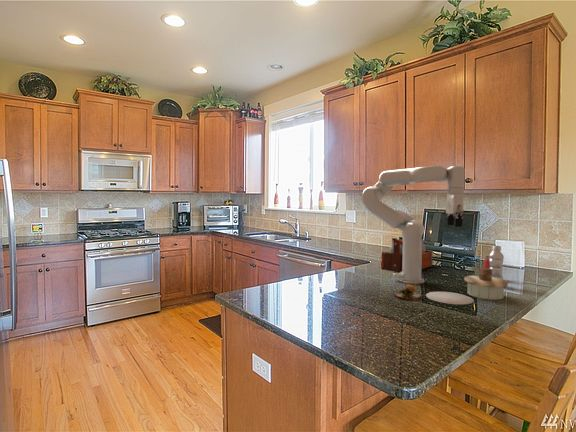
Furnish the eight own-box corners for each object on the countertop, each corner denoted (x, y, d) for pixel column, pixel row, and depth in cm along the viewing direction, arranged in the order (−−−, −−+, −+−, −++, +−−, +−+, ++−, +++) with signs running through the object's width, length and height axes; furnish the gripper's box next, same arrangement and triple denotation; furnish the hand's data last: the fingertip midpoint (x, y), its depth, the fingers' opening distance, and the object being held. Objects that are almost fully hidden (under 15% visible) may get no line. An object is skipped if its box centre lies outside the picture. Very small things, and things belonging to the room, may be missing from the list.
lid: (474, 286, 147) (475, 272, 147) (458, 277, 164) (458, 264, 164) (516, 287, 146) (516, 273, 146) (494, 278, 163) (495, 265, 163)
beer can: (496, 278, 189) (497, 256, 189) (498, 280, 183) (499, 258, 183) (483, 276, 192) (483, 255, 191) (484, 279, 186) (484, 257, 185)
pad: (434, 304, 142) (434, 303, 142) (420, 291, 161) (420, 291, 161) (482, 305, 141) (482, 304, 141) (462, 292, 159) (462, 292, 159)
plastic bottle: (498, 287, 169) (499, 247, 168) (484, 284, 175) (486, 245, 174) (505, 286, 172) (507, 246, 171) (492, 283, 178) (493, 244, 177)
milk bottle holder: (434, 265, 223) (435, 236, 222) (411, 274, 198) (412, 241, 197) (403, 261, 238) (404, 234, 237) (378, 269, 212) (379, 238, 211)
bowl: (476, 299, 149) (476, 286, 149) (462, 290, 163) (462, 278, 163) (509, 300, 148) (510, 286, 147) (493, 291, 162) (493, 279, 161)
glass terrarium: (401, 292, 161) (401, 277, 160) (426, 298, 152) (426, 281, 152) (388, 297, 152) (388, 281, 152) (414, 303, 144) (414, 286, 143)
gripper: (441, 191, 178) (440, 224, 179) (454, 191, 161) (453, 227, 162) (456, 191, 178) (455, 224, 179) (471, 191, 160) (470, 227, 161)
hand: (454, 225), depth 170 cm, fingers open, 9 cm apart
